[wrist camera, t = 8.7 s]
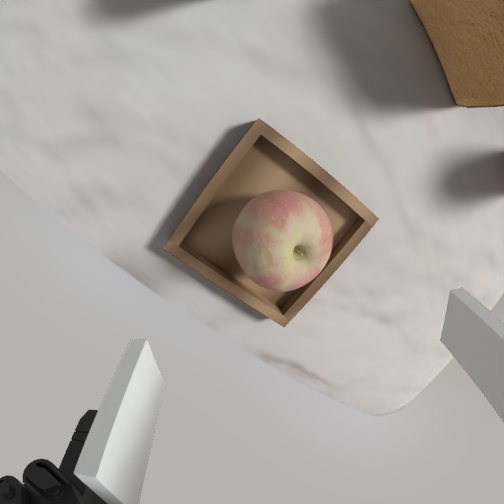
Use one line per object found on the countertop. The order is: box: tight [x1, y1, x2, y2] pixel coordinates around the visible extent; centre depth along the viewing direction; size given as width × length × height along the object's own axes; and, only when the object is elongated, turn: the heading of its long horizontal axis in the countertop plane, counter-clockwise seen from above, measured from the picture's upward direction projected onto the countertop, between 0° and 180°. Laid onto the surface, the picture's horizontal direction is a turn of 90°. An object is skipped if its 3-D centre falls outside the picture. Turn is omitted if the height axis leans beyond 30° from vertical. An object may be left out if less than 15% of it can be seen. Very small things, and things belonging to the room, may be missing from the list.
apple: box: [232, 190, 333, 292], centre depth 25 cm, size 8×8×8 cm
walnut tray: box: [164, 118, 379, 327], centre depth 28 cm, size 14×14×2 cm
